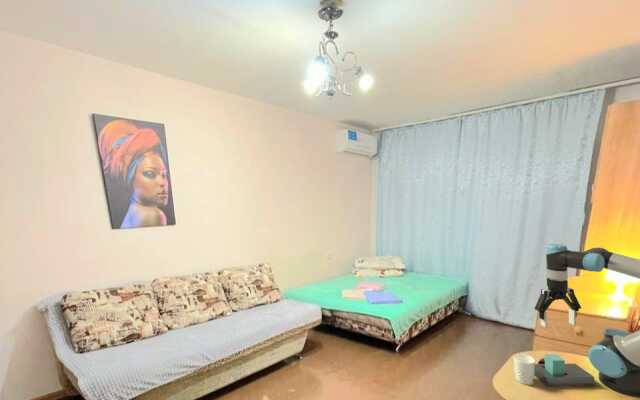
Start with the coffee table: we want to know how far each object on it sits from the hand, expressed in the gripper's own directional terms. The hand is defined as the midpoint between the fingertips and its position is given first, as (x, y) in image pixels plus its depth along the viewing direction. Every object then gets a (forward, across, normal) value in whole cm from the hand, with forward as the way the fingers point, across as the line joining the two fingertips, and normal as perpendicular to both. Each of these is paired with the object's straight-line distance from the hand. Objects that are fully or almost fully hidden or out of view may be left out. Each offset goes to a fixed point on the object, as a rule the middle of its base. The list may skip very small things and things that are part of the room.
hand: (558, 325), depth 138 cm
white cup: (+23, +18, +2) cm, 29 cm away
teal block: (+23, +5, +3) cm, 23 cm away
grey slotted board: (+23, +2, +3) cm, 23 cm away
